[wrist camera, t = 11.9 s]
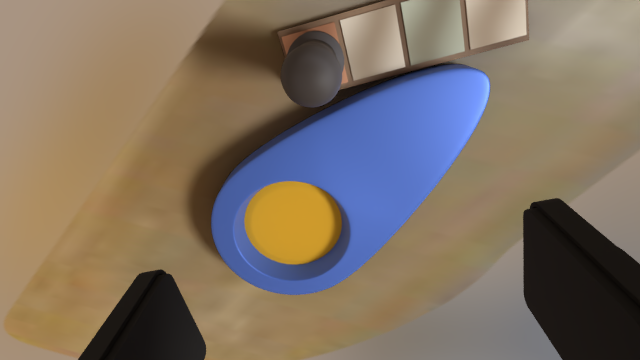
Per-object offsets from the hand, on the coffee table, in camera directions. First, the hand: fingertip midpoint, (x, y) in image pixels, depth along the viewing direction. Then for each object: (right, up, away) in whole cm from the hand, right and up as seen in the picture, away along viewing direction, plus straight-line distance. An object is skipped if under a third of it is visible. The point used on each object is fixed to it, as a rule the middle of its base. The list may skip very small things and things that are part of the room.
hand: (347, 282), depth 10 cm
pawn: (-1, +11, +17) cm, 20 cm away
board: (+5, +13, +17) cm, 22 cm away
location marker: (+1, +3, +22) cm, 22 cm away
